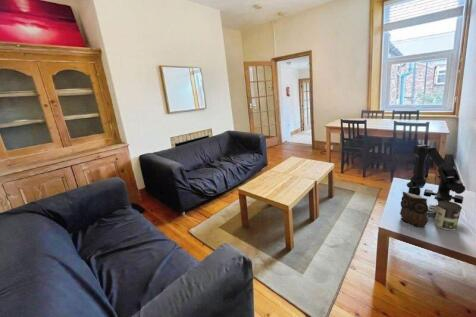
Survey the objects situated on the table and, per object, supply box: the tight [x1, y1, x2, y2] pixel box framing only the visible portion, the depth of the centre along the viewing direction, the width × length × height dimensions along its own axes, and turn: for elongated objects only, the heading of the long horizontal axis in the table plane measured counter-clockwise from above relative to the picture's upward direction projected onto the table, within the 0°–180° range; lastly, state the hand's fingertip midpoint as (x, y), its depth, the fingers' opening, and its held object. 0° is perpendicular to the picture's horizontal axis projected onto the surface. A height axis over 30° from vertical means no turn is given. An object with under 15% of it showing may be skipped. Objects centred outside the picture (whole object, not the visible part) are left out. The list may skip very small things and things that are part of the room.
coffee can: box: [433, 201, 462, 231], centre depth 134 cm, size 10×10×14 cm
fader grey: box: [432, 203, 438, 212], centre depth 146 cm, size 3×2×4 cm
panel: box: [426, 204, 436, 218], centre depth 146 cm, size 12×12×3 cm
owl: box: [399, 191, 429, 229], centre depth 139 cm, size 13×13×20 cm
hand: (440, 207), depth 147 cm, fingers closed
